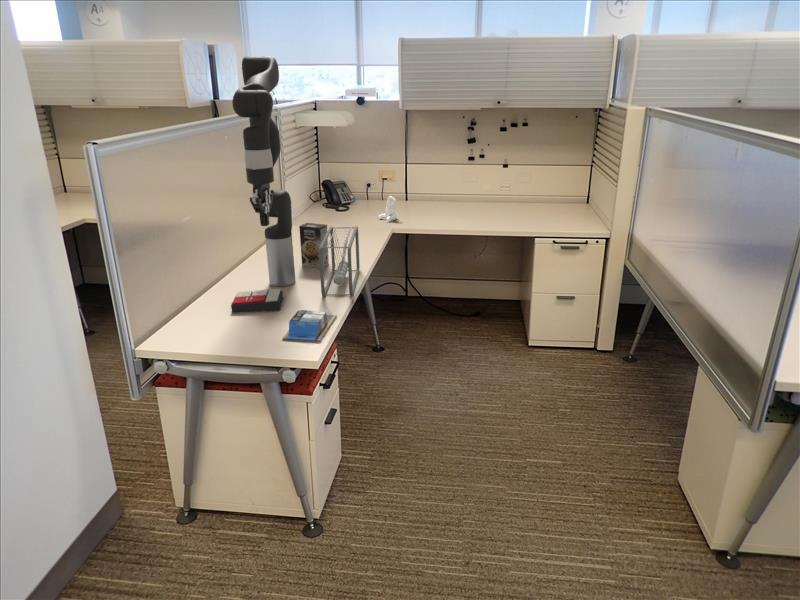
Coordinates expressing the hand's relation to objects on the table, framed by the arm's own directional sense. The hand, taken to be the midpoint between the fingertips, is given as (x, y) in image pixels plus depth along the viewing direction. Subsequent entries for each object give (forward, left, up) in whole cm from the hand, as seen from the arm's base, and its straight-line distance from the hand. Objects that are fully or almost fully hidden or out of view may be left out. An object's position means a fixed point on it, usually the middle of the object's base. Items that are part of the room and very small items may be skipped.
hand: (265, 225), depth 168 cm
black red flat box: (-8, -8, -30) cm, 32 cm away
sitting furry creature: (-128, +14, -29) cm, 132 cm away
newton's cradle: (-32, +14, -29) cm, 45 cm away
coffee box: (-51, -2, -29) cm, 59 cm away
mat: (+7, +14, -29) cm, 33 cm away
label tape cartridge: (+3, +14, -26) cm, 30 cm away
